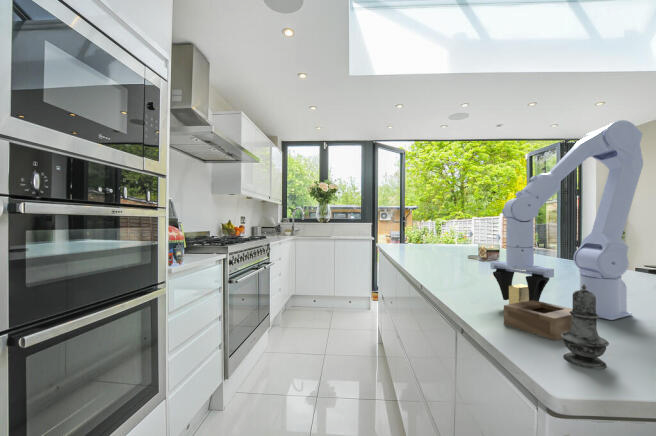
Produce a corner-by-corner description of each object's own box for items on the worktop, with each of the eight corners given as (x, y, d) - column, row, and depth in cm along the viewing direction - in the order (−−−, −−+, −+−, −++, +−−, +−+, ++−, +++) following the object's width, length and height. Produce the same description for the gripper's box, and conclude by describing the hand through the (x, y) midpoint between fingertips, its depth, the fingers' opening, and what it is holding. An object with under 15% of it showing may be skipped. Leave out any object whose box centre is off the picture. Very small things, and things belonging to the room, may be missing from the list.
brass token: (520, 308, 80) (520, 284, 80) (530, 310, 77) (530, 286, 78) (508, 310, 78) (508, 285, 78) (518, 313, 76) (518, 287, 76)
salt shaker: (618, 371, 46) (618, 289, 47) (573, 367, 48) (573, 287, 48) (594, 354, 52) (593, 281, 52) (553, 351, 53) (553, 280, 53)
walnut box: (533, 317, 72) (533, 300, 72) (584, 331, 63) (584, 311, 63) (503, 324, 67) (503, 305, 67) (554, 340, 58) (554, 318, 58)
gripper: (482, 245, 82) (482, 297, 82) (540, 250, 69) (540, 312, 69) (500, 244, 86) (500, 294, 85) (559, 248, 72) (559, 308, 72)
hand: (519, 302), depth 78 cm, fingers open, 6 cm apart
